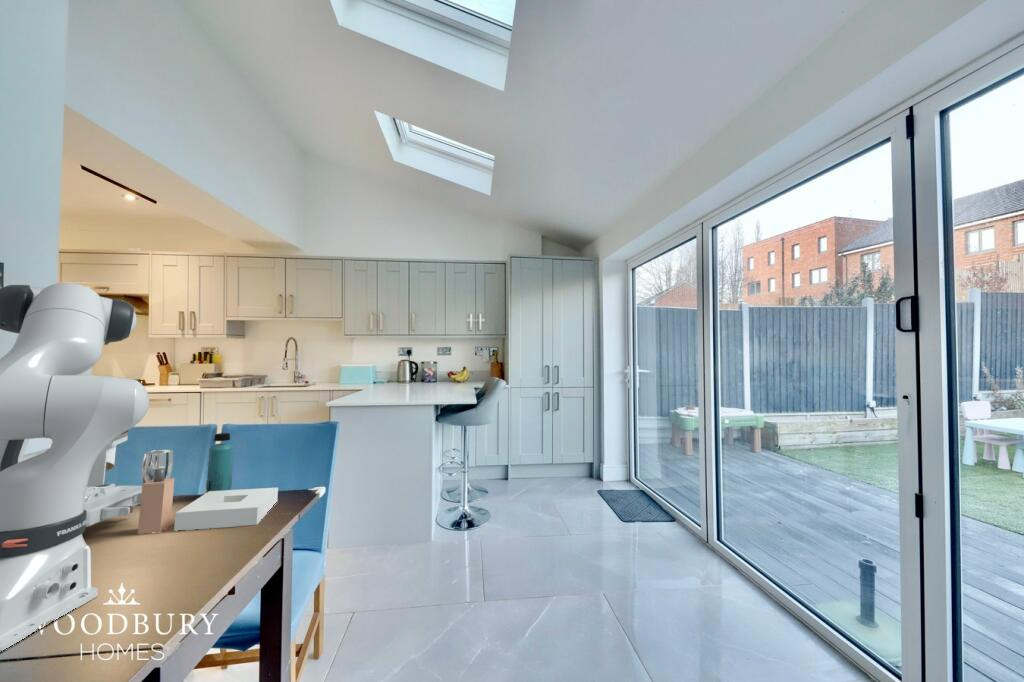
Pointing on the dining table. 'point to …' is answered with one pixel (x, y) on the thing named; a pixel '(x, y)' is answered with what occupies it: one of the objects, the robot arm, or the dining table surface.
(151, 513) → the plug
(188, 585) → the dining table surface
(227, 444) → the beverage bottle
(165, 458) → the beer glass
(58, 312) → the robot arm
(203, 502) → the socket
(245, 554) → the dining table surface
